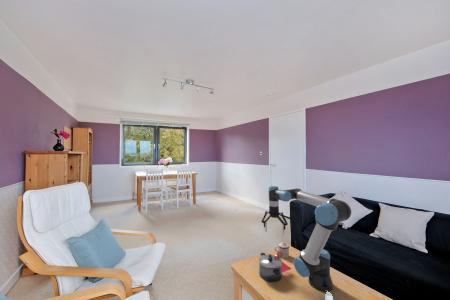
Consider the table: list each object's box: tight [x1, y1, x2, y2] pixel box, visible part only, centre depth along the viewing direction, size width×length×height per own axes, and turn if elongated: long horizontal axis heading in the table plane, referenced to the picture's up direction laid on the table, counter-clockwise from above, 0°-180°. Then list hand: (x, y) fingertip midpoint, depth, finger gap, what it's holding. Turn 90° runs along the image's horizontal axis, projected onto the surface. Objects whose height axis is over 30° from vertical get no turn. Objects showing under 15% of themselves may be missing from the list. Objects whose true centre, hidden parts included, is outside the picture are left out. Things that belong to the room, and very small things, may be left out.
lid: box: [258, 251, 283, 269], centre depth 149 cm, size 23×17×4 cm
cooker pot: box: [258, 252, 283, 283], centre depth 149 cm, size 26×16×9 cm, turn 12°
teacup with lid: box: [274, 241, 290, 259], centre depth 174 cm, size 12×9×12 cm
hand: (274, 232), depth 158 cm, fingers open, 13 cm apart
